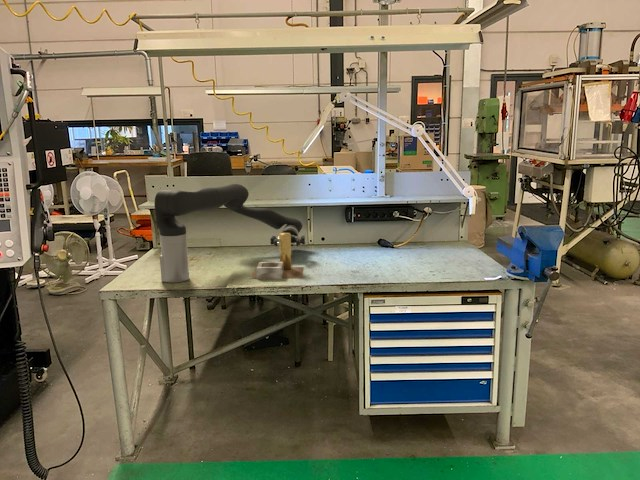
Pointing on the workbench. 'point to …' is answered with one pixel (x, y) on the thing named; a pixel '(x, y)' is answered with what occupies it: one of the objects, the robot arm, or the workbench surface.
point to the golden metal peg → (285, 250)
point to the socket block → (276, 271)
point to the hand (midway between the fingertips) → (286, 243)
